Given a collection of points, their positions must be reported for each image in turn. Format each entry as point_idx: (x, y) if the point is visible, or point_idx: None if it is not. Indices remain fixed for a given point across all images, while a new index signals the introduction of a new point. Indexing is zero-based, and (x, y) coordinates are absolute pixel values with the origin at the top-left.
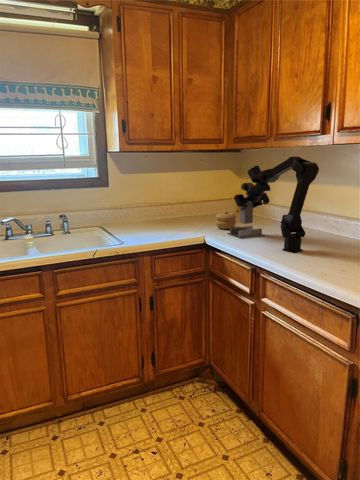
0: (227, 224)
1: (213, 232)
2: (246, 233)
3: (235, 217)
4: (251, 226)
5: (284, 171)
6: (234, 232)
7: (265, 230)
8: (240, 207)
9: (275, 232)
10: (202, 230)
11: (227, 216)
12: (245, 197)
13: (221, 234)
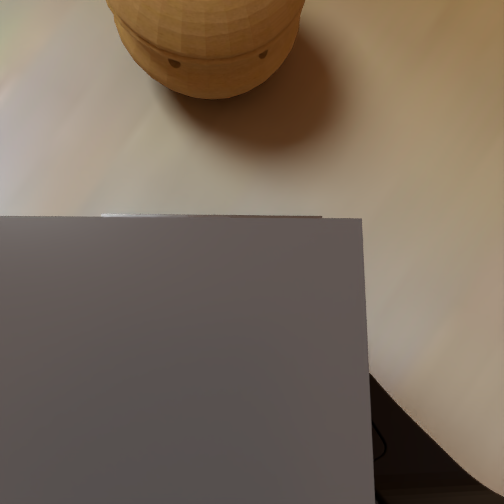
0: (170, 87)
1: (42, 121)
2: None
3: (269, 40)
4: None
5: None
6: None
7: (436, 251)
8: None
9: (463, 344)
10: (7, 22)
11: (162, 22)
12: (166, 282)
13: (56, 209)
